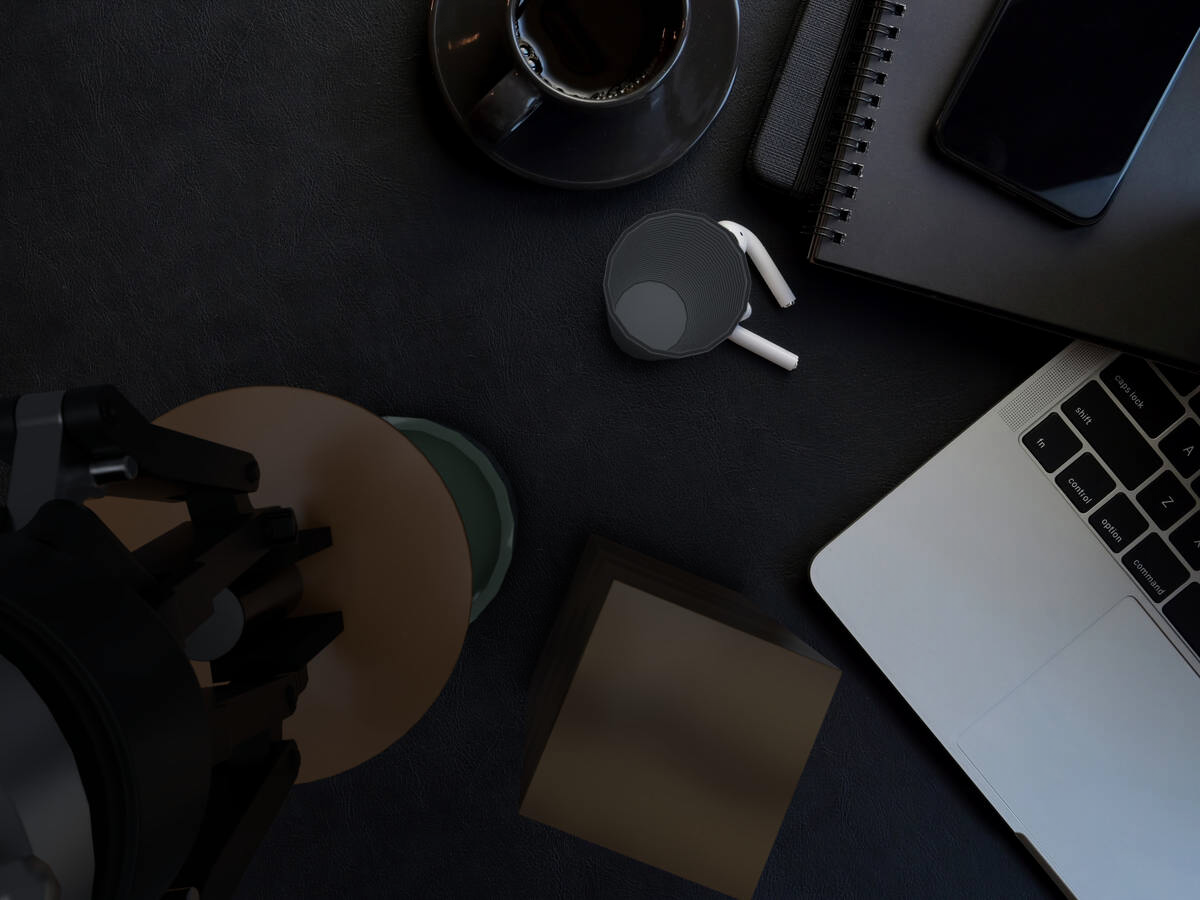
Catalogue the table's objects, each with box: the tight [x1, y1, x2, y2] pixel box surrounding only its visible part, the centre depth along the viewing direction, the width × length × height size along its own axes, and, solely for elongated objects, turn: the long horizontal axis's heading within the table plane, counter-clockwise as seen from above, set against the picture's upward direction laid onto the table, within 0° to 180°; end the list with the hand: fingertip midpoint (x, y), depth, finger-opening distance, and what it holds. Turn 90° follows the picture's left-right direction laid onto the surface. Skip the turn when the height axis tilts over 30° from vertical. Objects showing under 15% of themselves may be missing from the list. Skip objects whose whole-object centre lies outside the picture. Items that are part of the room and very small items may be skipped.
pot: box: [380, 415, 520, 625], centre depth 63 cm, size 15×15×9 cm
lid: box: [83, 384, 473, 786], centre depth 33 cm, size 16×16×8 cm
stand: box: [517, 532, 844, 900], centre depth 56 cm, size 12×12×24 cm
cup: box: [602, 208, 753, 362], centre depth 61 cm, size 8×8×16 cm
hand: (301, 583), depth 36 cm, fingers closed on lid, 3 cm apart
